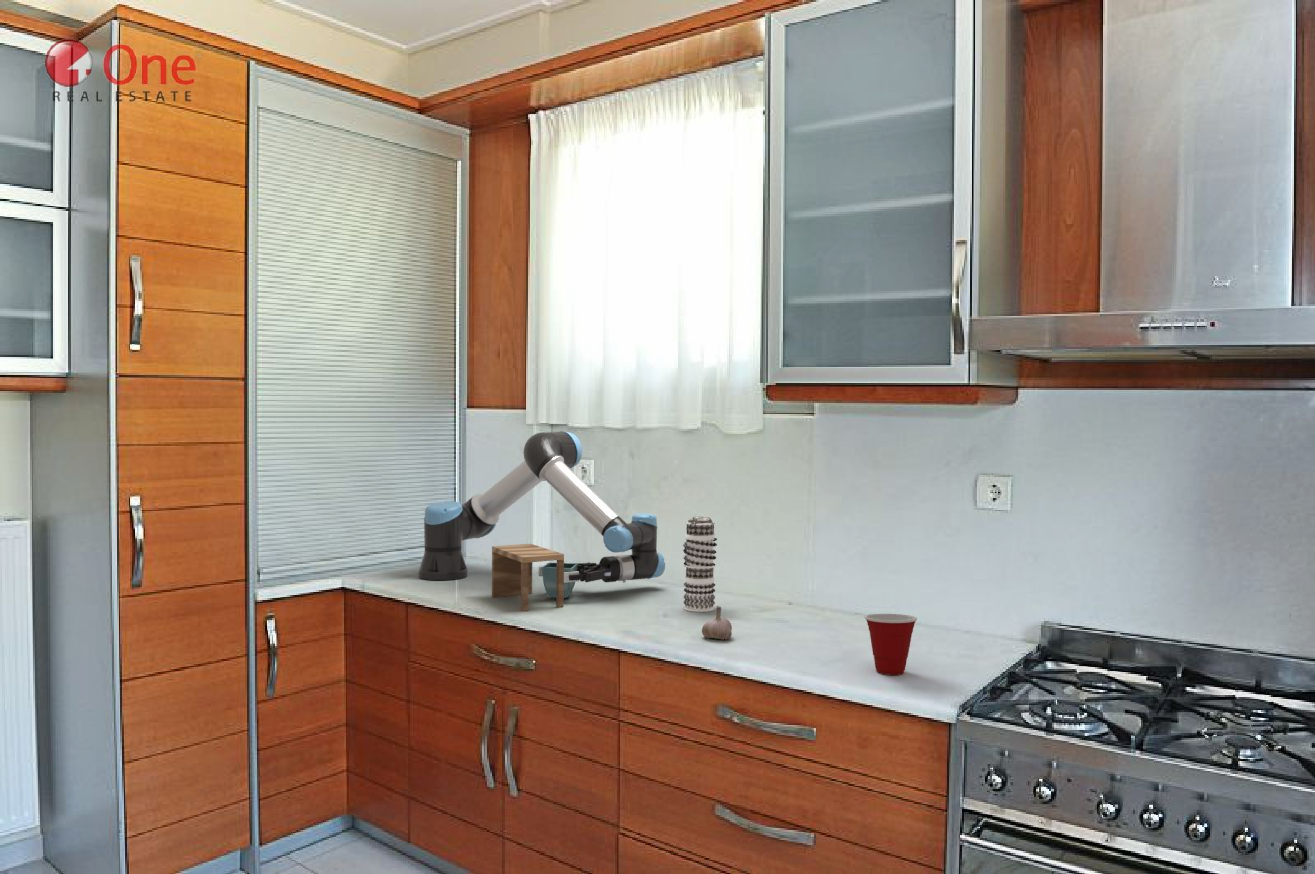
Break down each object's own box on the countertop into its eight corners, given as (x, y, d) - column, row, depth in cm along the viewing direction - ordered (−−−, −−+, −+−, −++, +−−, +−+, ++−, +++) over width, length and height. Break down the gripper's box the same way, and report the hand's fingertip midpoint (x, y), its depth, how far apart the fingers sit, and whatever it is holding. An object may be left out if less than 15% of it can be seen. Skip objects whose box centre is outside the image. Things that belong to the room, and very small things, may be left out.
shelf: (491, 596, 280) (492, 546, 280) (530, 592, 286) (530, 543, 286) (523, 611, 261) (523, 557, 260) (563, 606, 267) (564, 554, 267)
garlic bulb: (736, 641, 230) (736, 607, 230) (706, 642, 229) (706, 608, 229) (727, 634, 238) (727, 601, 237) (698, 635, 236) (698, 602, 236)
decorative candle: (721, 610, 264) (722, 518, 263) (689, 612, 261) (690, 519, 260) (708, 604, 272) (709, 515, 272) (677, 606, 269) (678, 516, 269)
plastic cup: (903, 663, 211) (904, 609, 211) (924, 677, 201) (926, 620, 200) (855, 665, 210) (856, 610, 209) (874, 679, 199) (875, 621, 199)
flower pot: (578, 593, 282) (578, 562, 282) (572, 599, 274) (572, 567, 273) (548, 592, 283) (548, 562, 283) (541, 598, 274) (541, 567, 274)
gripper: (635, 588, 277) (566, 595, 266) (596, 575, 298) (531, 581, 287) (635, 561, 277) (566, 567, 266) (597, 550, 297) (531, 555, 286)
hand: (548, 574), depth 276 cm, fingers closed on flower pot, 12 cm apart
